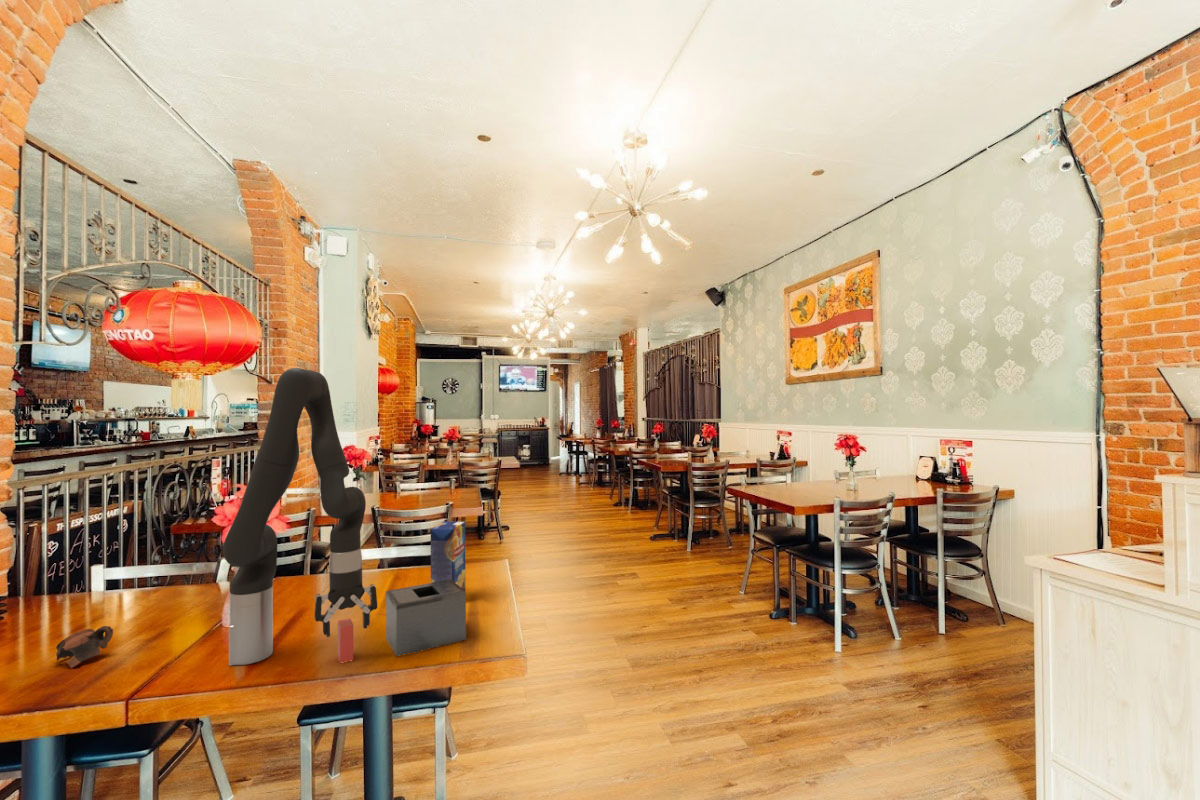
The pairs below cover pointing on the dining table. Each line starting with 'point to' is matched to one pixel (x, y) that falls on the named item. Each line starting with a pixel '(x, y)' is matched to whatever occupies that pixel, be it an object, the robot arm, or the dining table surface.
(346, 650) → the red rectangular block
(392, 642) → the grey slotted box
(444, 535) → the blue tall cardboard box
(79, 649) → the brown curved piece
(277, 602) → the dining table surface
